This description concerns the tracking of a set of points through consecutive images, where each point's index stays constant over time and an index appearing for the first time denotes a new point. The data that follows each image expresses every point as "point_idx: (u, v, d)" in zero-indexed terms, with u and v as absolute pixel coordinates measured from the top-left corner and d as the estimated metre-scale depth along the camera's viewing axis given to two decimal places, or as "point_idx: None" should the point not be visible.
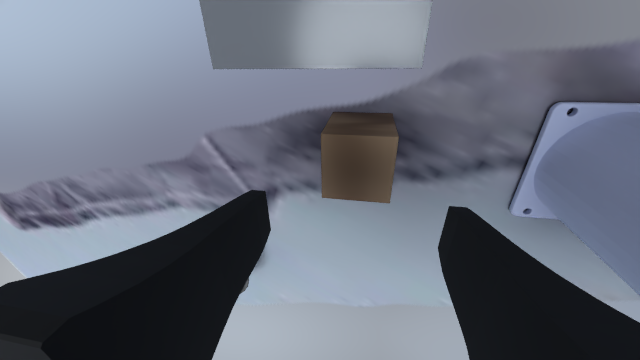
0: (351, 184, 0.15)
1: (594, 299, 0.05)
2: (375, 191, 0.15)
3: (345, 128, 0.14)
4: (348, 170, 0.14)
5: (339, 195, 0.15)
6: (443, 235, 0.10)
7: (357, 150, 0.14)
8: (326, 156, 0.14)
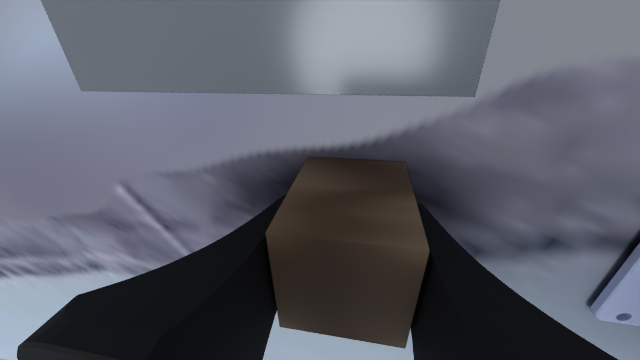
0: (332, 314, 0.08)
1: (506, 288, 0.05)
2: (378, 329, 0.08)
3: (319, 210, 0.07)
4: (324, 295, 0.07)
5: (310, 327, 0.08)
6: None
7: (342, 265, 0.07)
8: (280, 269, 0.07)
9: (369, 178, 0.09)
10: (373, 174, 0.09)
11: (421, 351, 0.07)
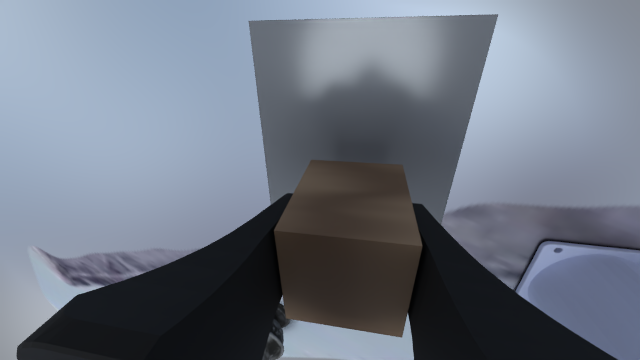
0: (335, 306, 0.08)
1: (507, 288, 0.05)
2: (376, 319, 0.08)
3: (322, 210, 0.08)
4: (328, 287, 0.08)
5: (314, 318, 0.09)
6: None
7: (343, 260, 0.07)
8: (287, 264, 0.08)
9: (368, 180, 0.10)
10: (372, 176, 0.10)
11: (421, 351, 0.07)
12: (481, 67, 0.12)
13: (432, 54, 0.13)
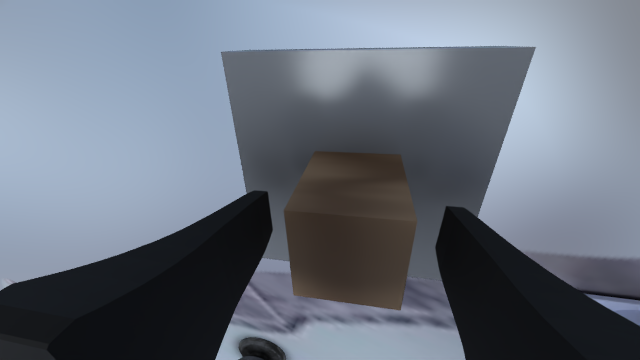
0: (339, 282, 0.09)
1: (588, 298, 0.05)
2: (377, 293, 0.09)
3: (326, 193, 0.09)
4: (332, 264, 0.09)
5: (320, 294, 0.10)
6: (440, 235, 0.10)
7: (346, 237, 0.08)
8: (295, 242, 0.09)
9: (369, 168, 0.10)
10: (372, 165, 0.11)
11: None
12: (511, 110, 0.10)
13: (448, 94, 0.10)
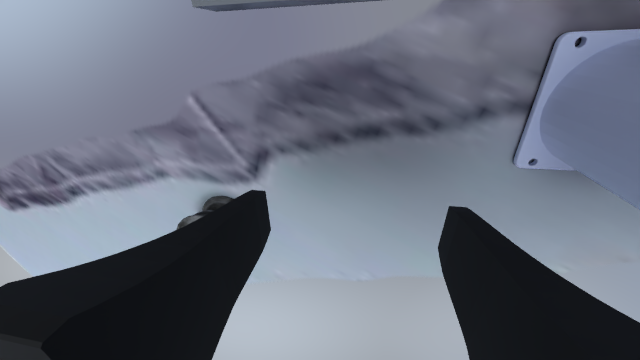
0: None
1: (594, 299, 0.05)
2: None
3: None
4: None
5: None
6: (443, 235, 0.10)
7: None
8: None
9: None
10: None
11: None
12: None
13: None
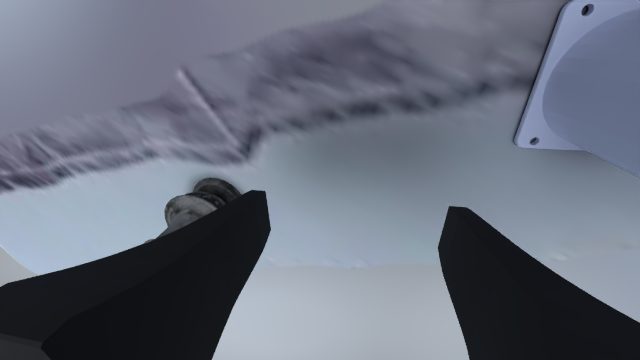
0: None
1: (594, 299, 0.05)
2: None
3: None
4: None
5: None
6: (443, 235, 0.10)
7: None
8: None
9: None
10: None
11: None
12: None
13: None
